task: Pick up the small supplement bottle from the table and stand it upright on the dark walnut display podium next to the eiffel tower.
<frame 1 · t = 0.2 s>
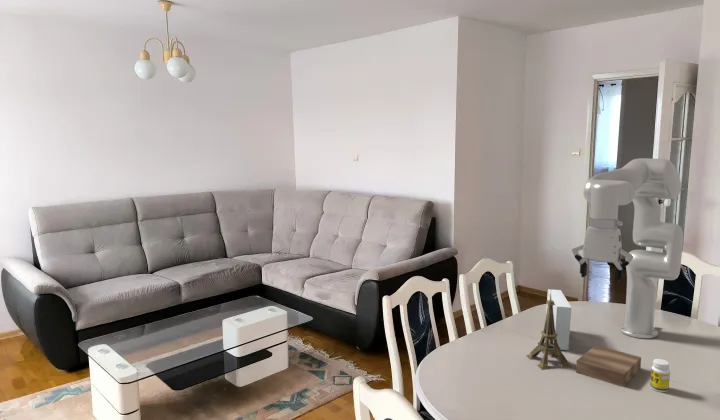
hand: (600, 279, 157), 31 cm above the table, tool pointing down, fingers open, 9 cm apart
supplement bottle: (659, 389, 151), on the table
skincare box: (556, 339, 189), on the table
eiffel tower: (548, 362, 171), on the table
podium: (608, 370, 163), on the table
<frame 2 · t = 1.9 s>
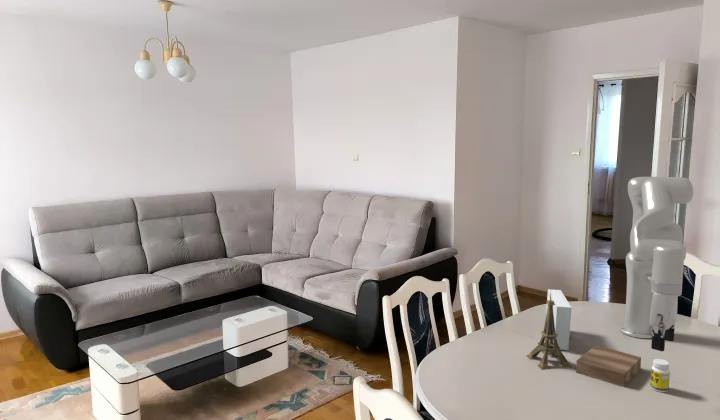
hand: (662, 344, 149), 14 cm above the table, tool pointing down, fingers open, 9 cm apart
nothing on the table moved.
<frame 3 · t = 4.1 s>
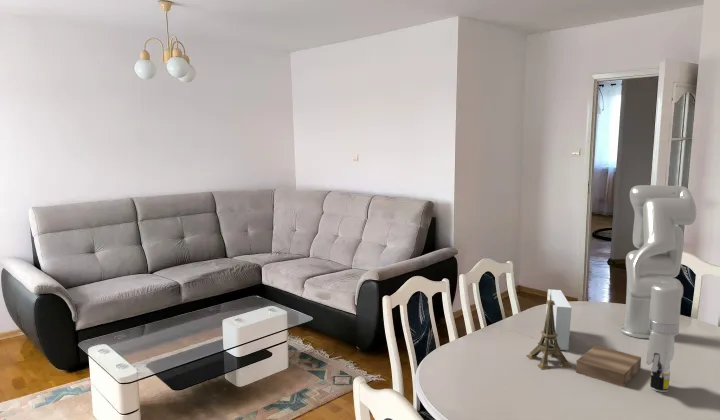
hand: (659, 384, 151), 1 cm above the table, tool pointing down, fingers closed on supplement bottle, 4 cm apart
supplement bottle: (659, 389, 151), on the table, touching gripper
everything else where it was.
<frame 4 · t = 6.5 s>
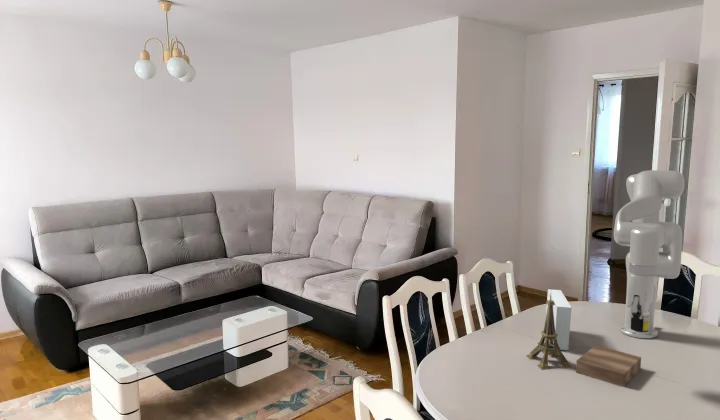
hand: (639, 327, 154), 17 cm above the table, tool pointing down, fingers closed on supplement bottle, 4 cm apart
supplement bottle: (639, 331, 155), point 15 cm above the table, touching gripper
everything else where it was.
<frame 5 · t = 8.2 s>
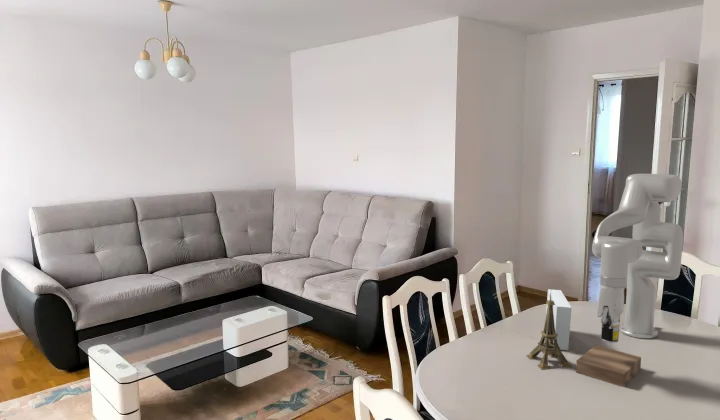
hand: (610, 336, 161), 11 cm above the table, tool pointing down, fingers closed on supplement bottle, 4 cm apart
supplement bottle: (609, 341, 162), point 10 cm above the table, touching gripper
everything else where it was.
when the fingers open (7 cm above the table, at t = 9.4 s): supplement bottle drops 1 cm, resting on podium.
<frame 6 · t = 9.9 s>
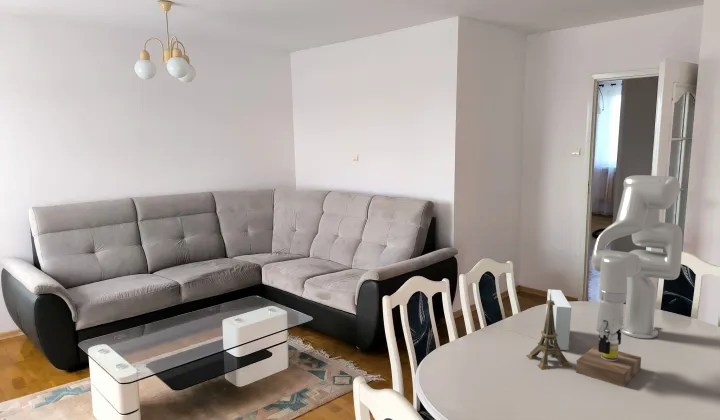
hand: (609, 348, 162), 8 cm above the table, tool pointing down, fingers open, 9 cm apart
supplement bottle: (609, 358, 163), point 4 cm above the table, touching podium
everything else where it was.
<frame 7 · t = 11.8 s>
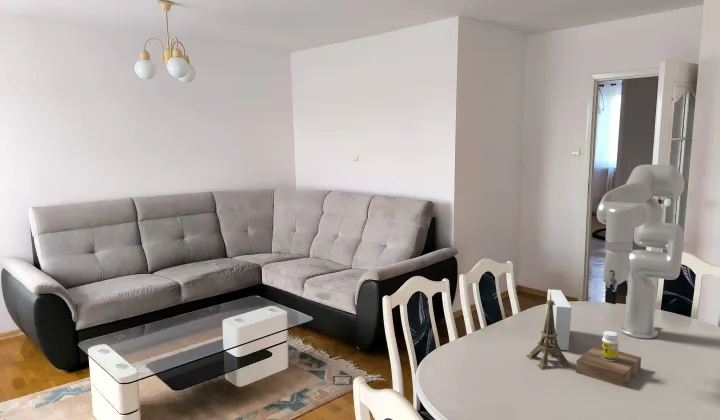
hand: (616, 299, 162), 23 cm above the table, tool pointing down, fingers open, 9 cm apart
nothing on the table moved.
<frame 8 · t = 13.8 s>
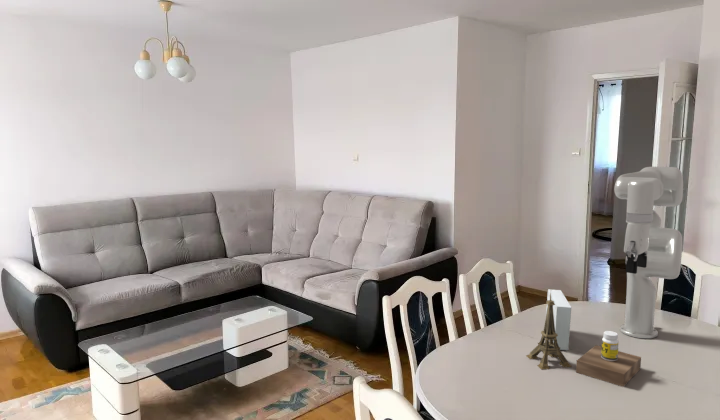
hand: (636, 269, 168), 30 cm above the table, tool pointing down, fingers open, 9 cm apart
nothing on the table moved.
at the end: supplement bottle inside the target area on the podium (0.3 cm from its centre), point 3.8 cm above the podium's base; supplement bottle tilted 0°; the gripper is holding nothing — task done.
